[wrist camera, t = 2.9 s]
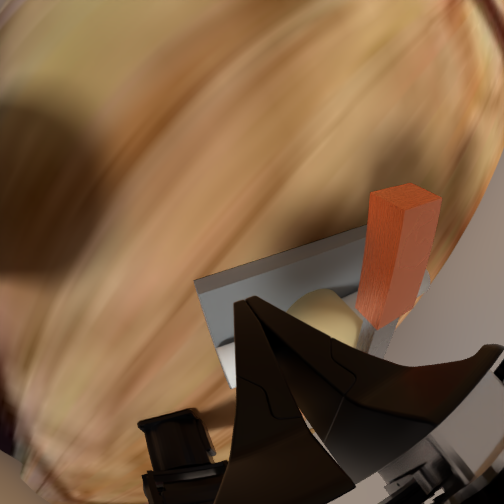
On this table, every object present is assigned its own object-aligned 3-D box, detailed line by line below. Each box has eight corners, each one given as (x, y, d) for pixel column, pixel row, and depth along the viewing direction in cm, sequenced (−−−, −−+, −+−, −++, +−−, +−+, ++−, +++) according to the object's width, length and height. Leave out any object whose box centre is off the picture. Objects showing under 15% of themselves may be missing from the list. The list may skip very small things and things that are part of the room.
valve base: (225, 376, 24) (255, 443, 18) (193, 280, 18) (229, 371, 12) (387, 303, 29) (429, 343, 23) (407, 210, 23) (469, 248, 17)
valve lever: (364, 370, 18) (378, 386, 17) (335, 386, 17) (349, 404, 16) (410, 182, 10) (442, 197, 9) (370, 192, 10) (404, 210, 8)
